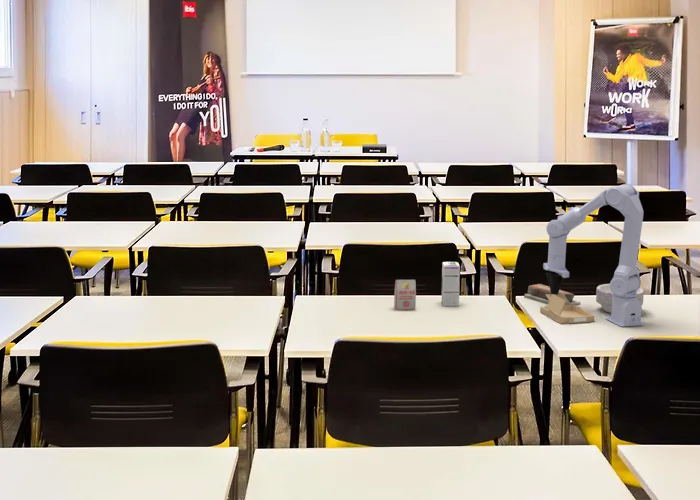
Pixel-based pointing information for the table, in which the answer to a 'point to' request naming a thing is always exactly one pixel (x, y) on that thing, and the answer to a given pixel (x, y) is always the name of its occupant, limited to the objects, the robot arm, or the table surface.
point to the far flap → (558, 296)
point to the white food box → (405, 295)
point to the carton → (569, 314)
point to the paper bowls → (606, 296)
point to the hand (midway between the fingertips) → (554, 293)
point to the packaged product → (540, 292)
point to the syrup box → (450, 283)
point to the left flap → (556, 304)
